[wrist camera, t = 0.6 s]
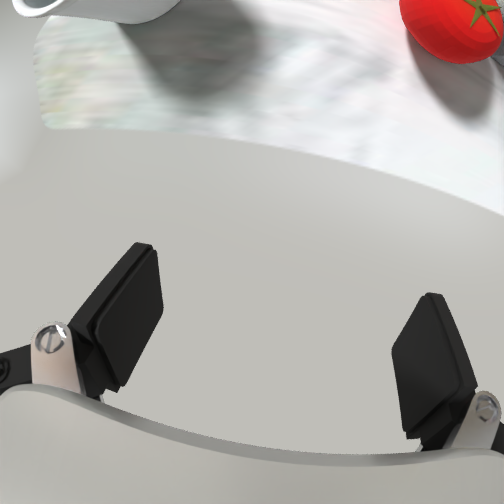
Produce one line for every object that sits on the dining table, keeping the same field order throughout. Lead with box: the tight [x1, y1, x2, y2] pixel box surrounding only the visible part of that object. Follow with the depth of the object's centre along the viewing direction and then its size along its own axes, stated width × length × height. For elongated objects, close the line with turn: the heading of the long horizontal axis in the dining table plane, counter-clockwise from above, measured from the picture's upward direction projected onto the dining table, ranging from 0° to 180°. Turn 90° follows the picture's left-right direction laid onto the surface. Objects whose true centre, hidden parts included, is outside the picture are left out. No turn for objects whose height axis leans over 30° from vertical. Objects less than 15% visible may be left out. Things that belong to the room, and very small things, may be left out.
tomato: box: [399, 0, 503, 64], centre depth 17 cm, size 11×11×13 cm
